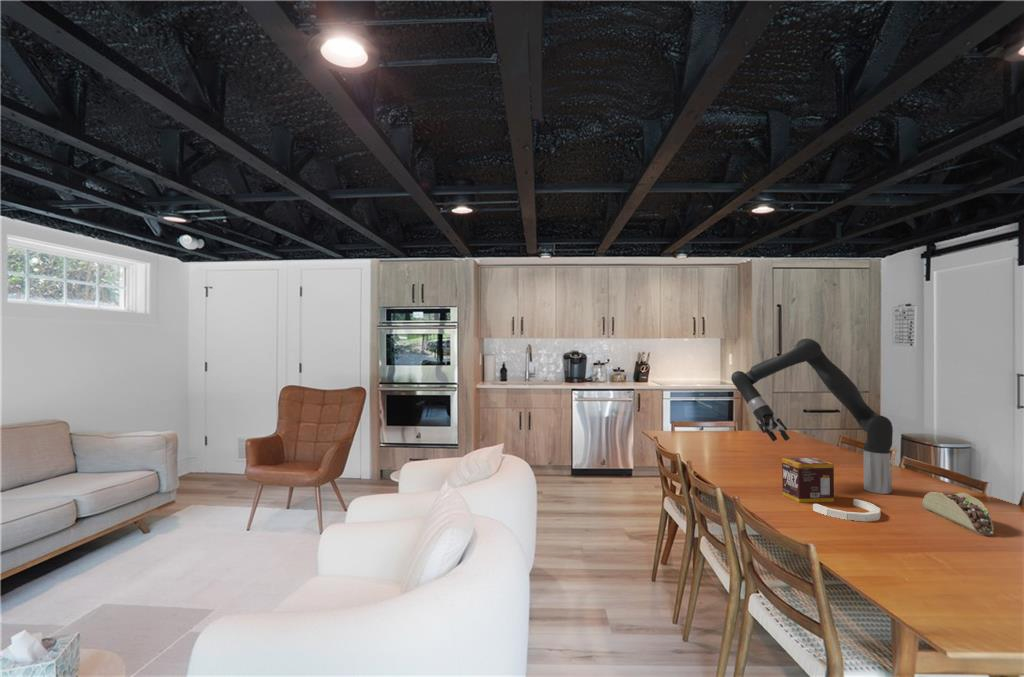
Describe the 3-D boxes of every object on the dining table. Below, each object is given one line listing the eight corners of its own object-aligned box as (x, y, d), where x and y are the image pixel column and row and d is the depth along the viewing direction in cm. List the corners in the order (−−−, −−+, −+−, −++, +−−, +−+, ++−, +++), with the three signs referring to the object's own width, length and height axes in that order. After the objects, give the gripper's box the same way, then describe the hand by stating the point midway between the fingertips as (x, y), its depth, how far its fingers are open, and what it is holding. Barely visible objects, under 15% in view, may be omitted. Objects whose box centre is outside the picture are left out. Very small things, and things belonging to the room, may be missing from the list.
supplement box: (781, 494, 198) (781, 457, 198) (815, 494, 199) (815, 457, 200) (798, 502, 188) (798, 464, 188) (834, 502, 189) (834, 463, 189)
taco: (942, 510, 181) (942, 483, 181) (1005, 538, 154) (1004, 507, 154) (914, 508, 182) (914, 482, 182) (972, 536, 155) (971, 505, 156)
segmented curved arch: (856, 505, 185) (856, 498, 185) (895, 517, 172) (895, 510, 172) (813, 510, 179) (812, 504, 179) (849, 524, 165) (849, 517, 165)
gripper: (756, 404, 209) (777, 436, 199) (776, 404, 215) (798, 435, 206) (744, 413, 214) (764, 445, 204) (764, 413, 220) (785, 443, 210)
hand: (781, 440), depth 205 cm, fingers open, 8 cm apart
